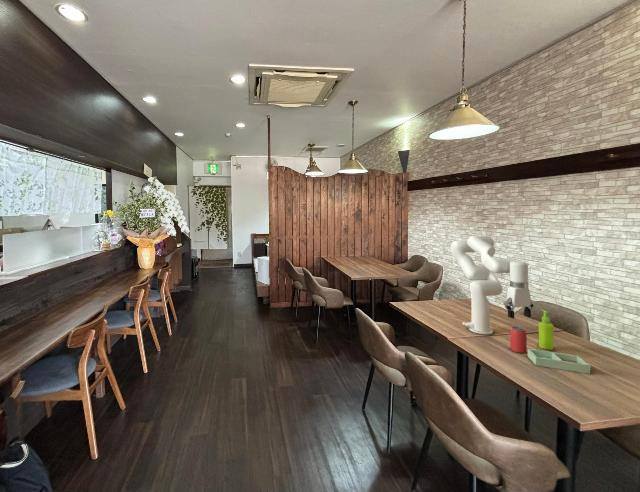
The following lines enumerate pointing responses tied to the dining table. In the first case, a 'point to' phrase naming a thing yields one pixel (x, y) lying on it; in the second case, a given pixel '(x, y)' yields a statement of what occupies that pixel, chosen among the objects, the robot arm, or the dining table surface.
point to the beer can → (518, 340)
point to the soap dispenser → (546, 332)
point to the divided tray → (558, 361)
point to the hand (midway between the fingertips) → (519, 317)
